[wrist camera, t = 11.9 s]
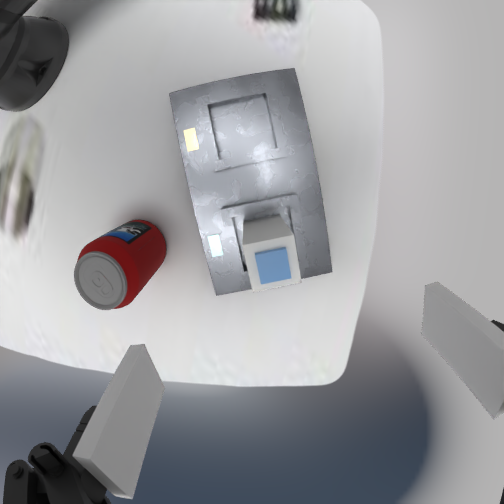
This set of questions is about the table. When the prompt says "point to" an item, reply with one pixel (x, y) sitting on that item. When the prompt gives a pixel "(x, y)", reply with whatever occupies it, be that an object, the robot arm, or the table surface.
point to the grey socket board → (250, 169)
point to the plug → (270, 253)
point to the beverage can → (119, 264)
